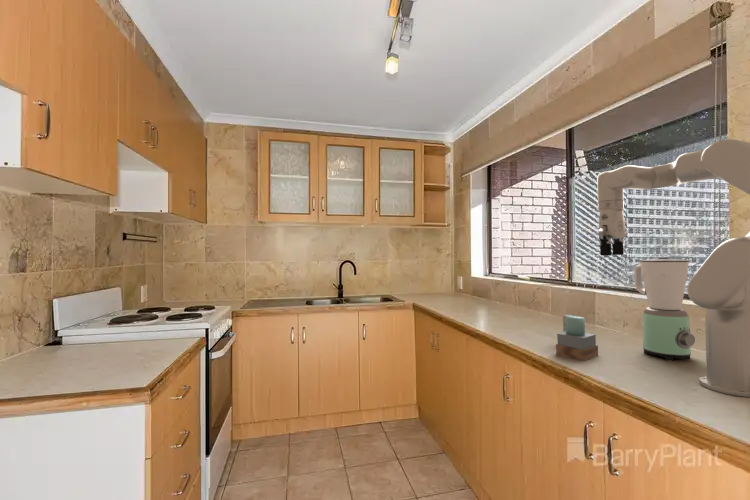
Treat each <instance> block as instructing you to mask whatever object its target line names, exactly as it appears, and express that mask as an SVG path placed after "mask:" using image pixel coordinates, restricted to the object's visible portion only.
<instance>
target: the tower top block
mask: <svg viewBox="0 0 750 500" xmlns="http://www.w3.org/2000/svg"><path fill="white" fill-rule="evenodd" d="M556 336H557V340H556V341H557V344H558V345H563V346H567V347H572V348H577V349H582V350H584V349H587V348H590V347H593V346H596V345H597V343H596V342H597V341H596V336H597V335H596V334H594V333H590V332H589V333H588V332H585V335H584V336H575V335H569V334H566V331H565V332H563V331H562V332H558V333H557V335H556Z"/></svg>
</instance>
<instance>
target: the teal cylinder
mask: <svg viewBox="0 0 750 500" xmlns="http://www.w3.org/2000/svg"><path fill="white" fill-rule="evenodd" d="M585 318H586V317H583V316H578V315H577V316H566V334H569V335H575V336H584V335H585V333H586V319H585Z"/></svg>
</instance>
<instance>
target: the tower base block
mask: <svg viewBox="0 0 750 500" xmlns="http://www.w3.org/2000/svg"><path fill="white" fill-rule="evenodd" d="M555 352H556V353H555V354H556V355H557V356H562V357H567V358H571V359H575V360H580V361H584V362H586V361H588V360H592V359H593V358H596V357H598V356H599V345H598V344H596V346H593V347H590V348H587V349H584V350H582V349H577V348H572V347H567V346H563V345H558V343H556V344H555Z"/></svg>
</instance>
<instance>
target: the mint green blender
mask: <svg viewBox="0 0 750 500" xmlns="http://www.w3.org/2000/svg"><path fill="white" fill-rule="evenodd" d="M639 262H640V264H637V265H636V266H635V267H634V274H633V275H634V287H635V289H636V290H637V291H638V293H640V294H642V295H646V298H647V303H648V307H645V308H644V310H643V312H642V318H641V319H642V322H641V323H642V349H643V354H644V355H653V356H657V357H662V358H664V360H666V361H670V362H671V361H673V359H687V360H689V359H691V355H692V351H691V350H692V349H691V348H692V347H693V345H694V344H695V343H696V337H695V336H694V335H693V334H692V333H691V325H690V324H691V323H690V316H689V314H688V312H687V311H686V310H685V309H682V307H683V300H684V295H685V289H686V283H687V278H688V270H689V264H690V260H689V259H678V258H671V257H668V256H667V257H657V258H651V259H641V260H639ZM643 284H644V286H643Z"/></svg>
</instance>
